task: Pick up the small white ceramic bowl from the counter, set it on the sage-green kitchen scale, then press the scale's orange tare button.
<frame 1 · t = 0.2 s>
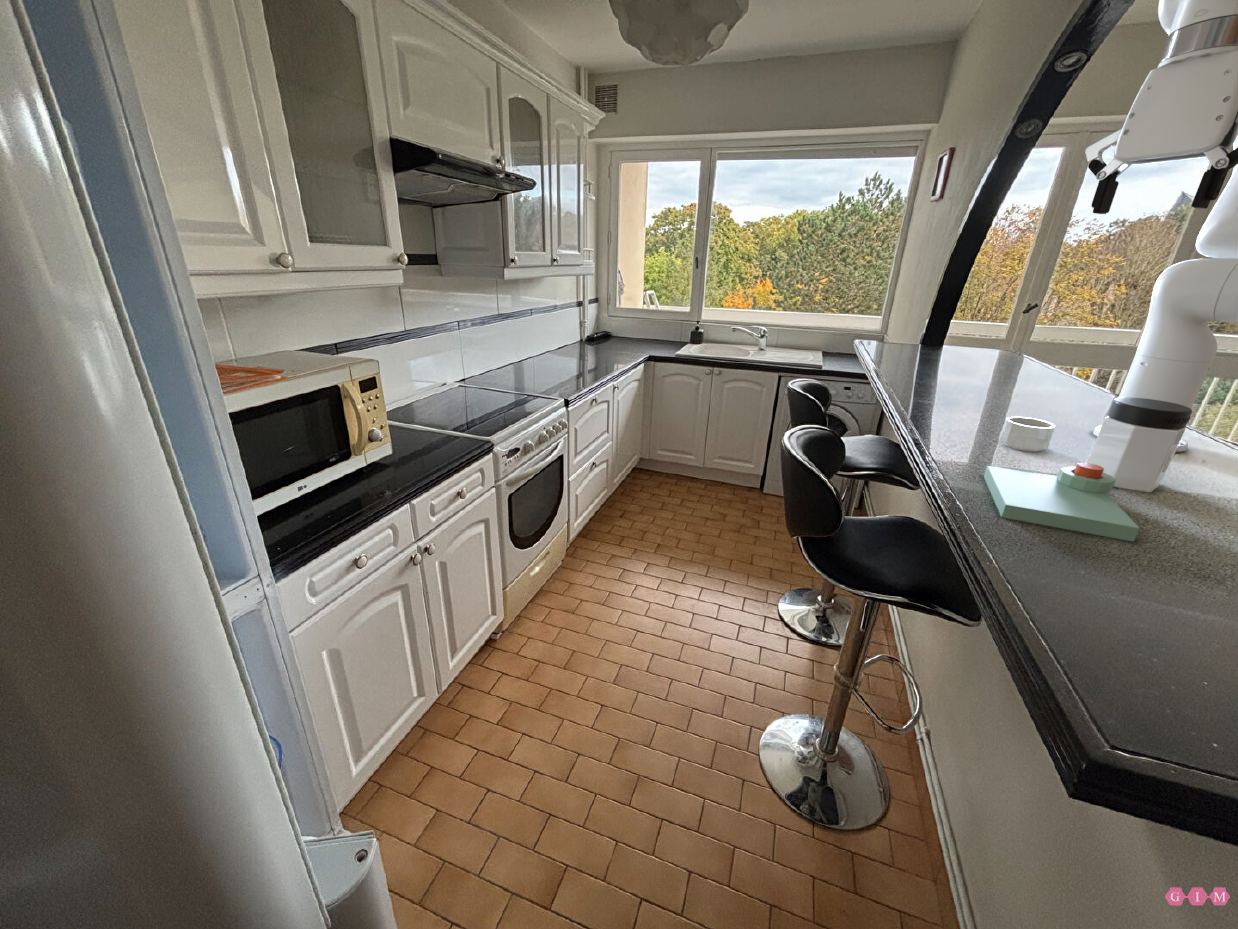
hand: (1146, 210, 66), 37 cm above the countertop, tool pointing down, fingers open, 9 cm apart
tare button: (1088, 471, 70), point 4 cm above the countertop, slide at 0.1 cm
jar: (1119, 481, 77), on the countertop
scale: (1048, 505, 68), on the countertop
bowl: (1022, 446, 91), on the countertop
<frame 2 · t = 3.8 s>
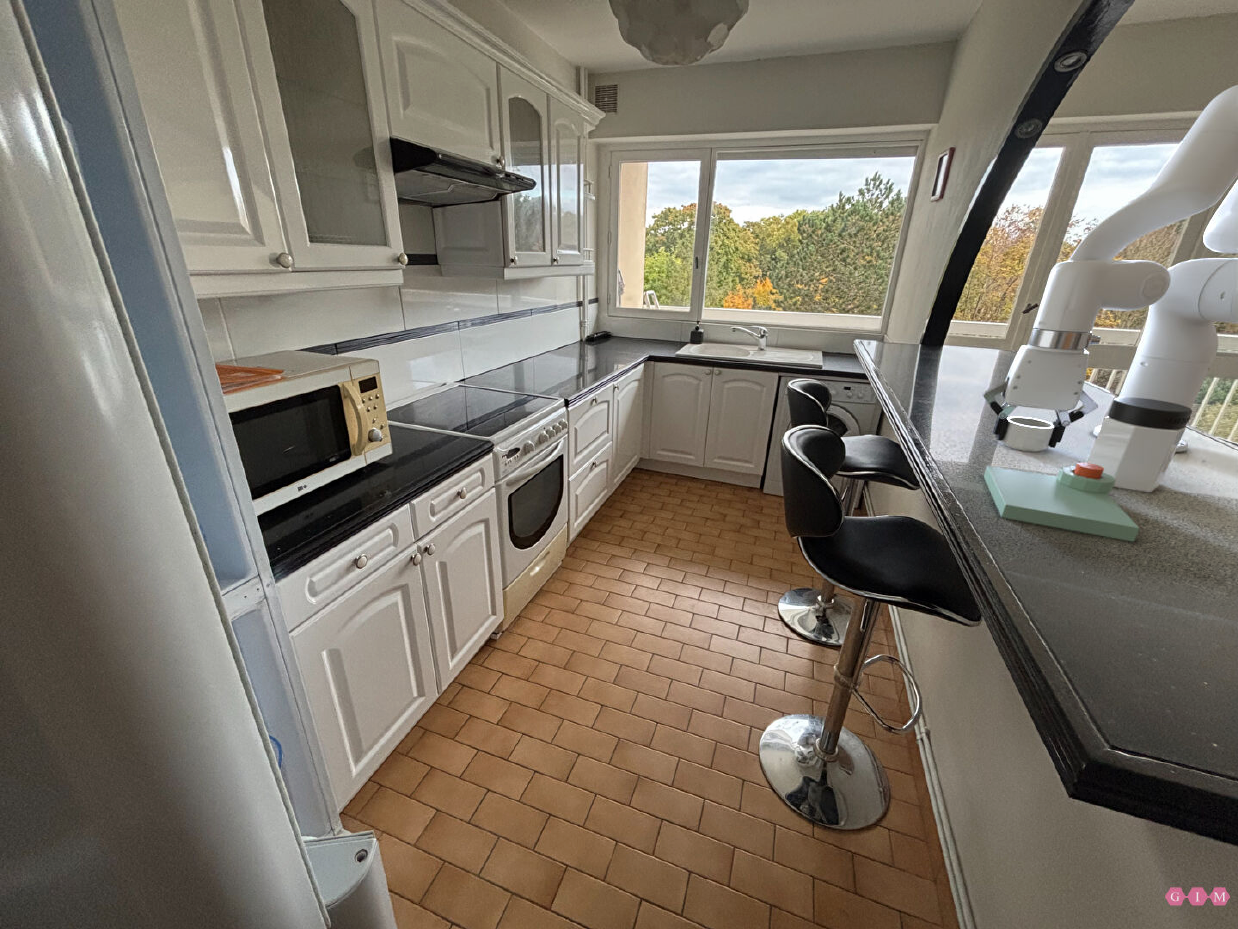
hand: (1024, 441, 91), 1 cm above the countertop, tool pointing down, fingers closed on bowl, 6 cm apart
bowl: (1022, 446, 91), on the countertop, touching gripper
everything else where it was.
when the fingers open (3 cm above the countertop, at t = 11.6 s): bowl stays where it is, resting on scale.
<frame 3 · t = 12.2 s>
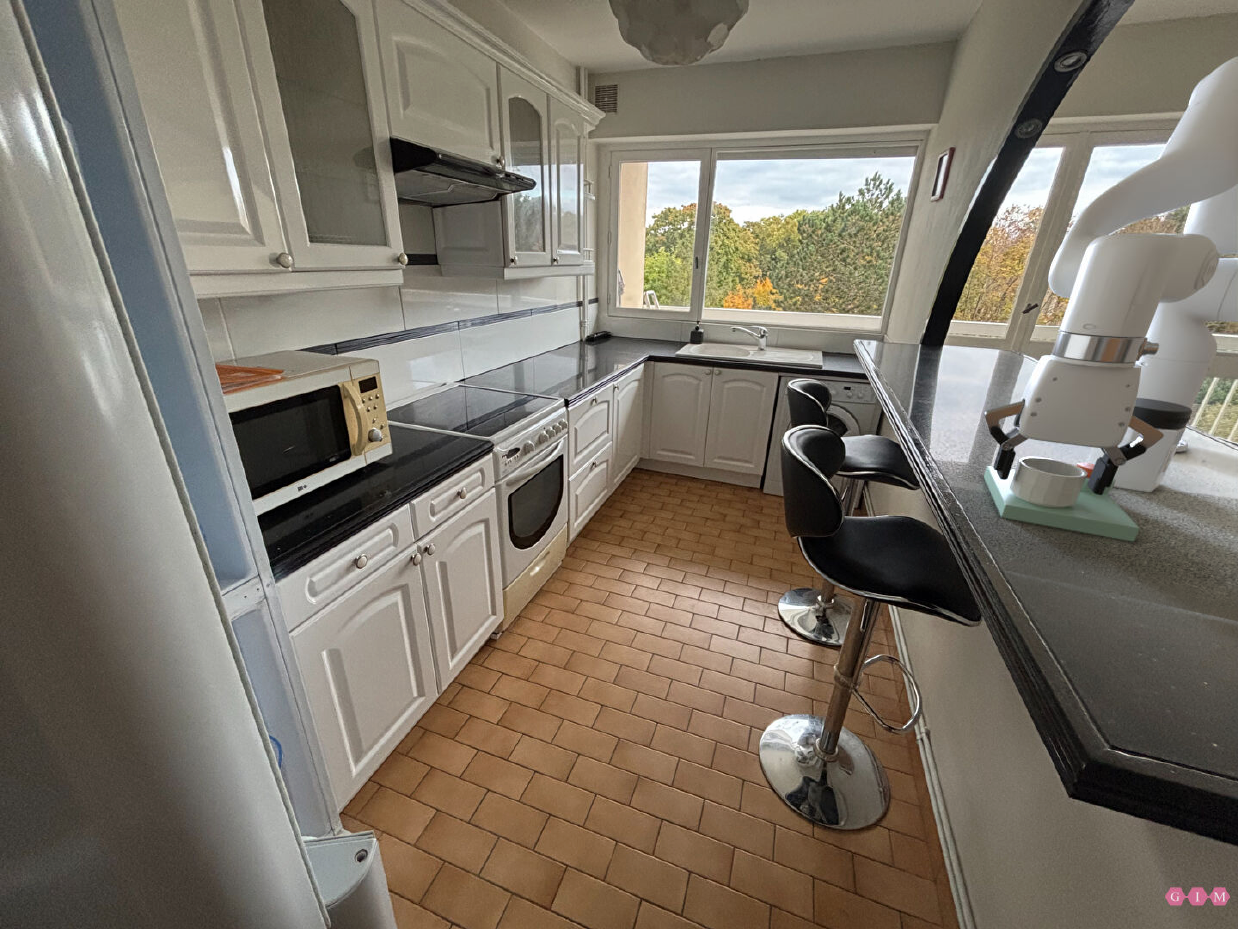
hand: (1046, 483, 65), 4 cm above the countertop, tool pointing down, fingers open, 9 cm apart
bowl: (1040, 498, 66), point 2 cm above the countertop, touching scale
everything else where it was.
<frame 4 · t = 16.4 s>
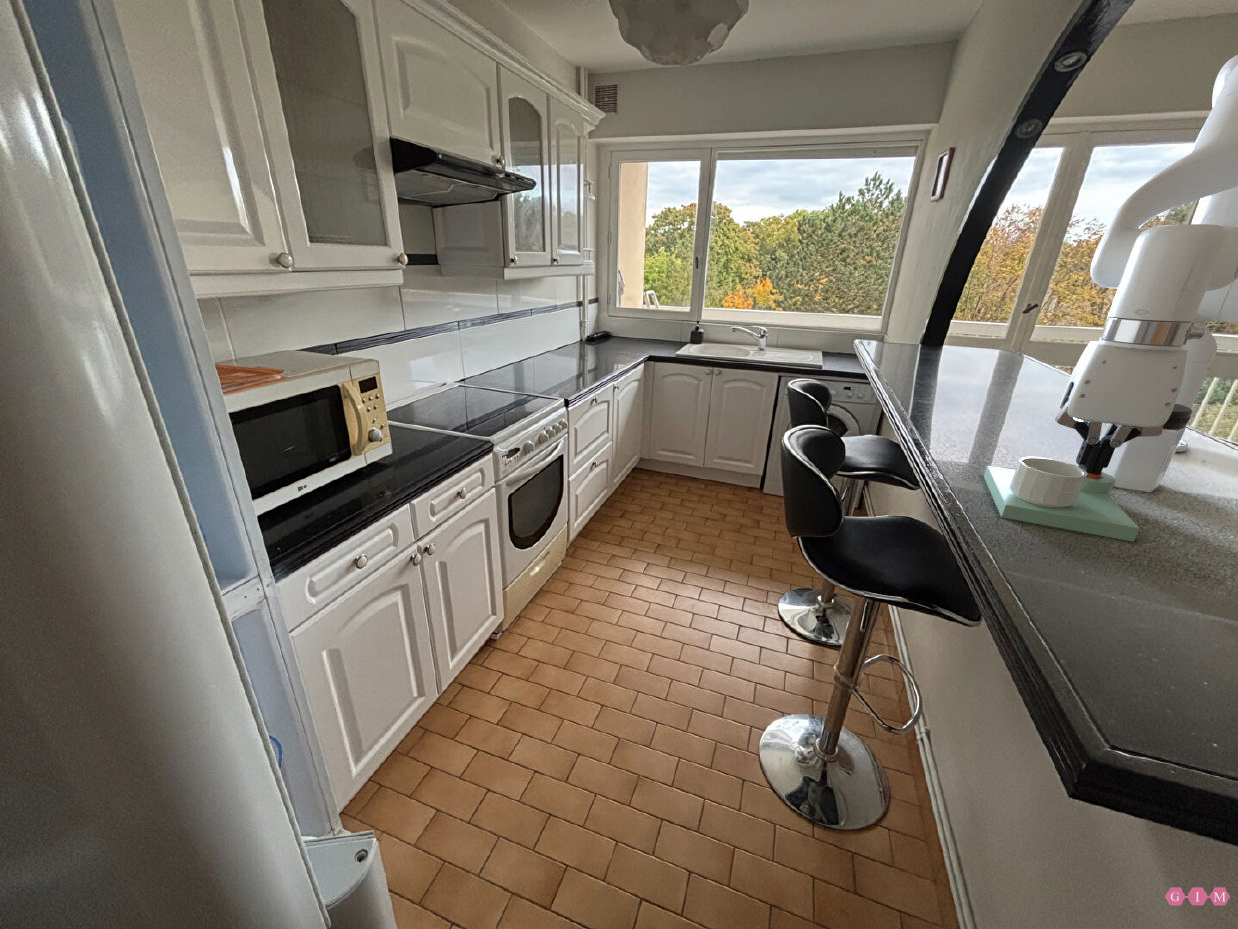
hand: (1088, 470, 70), 4 cm above the countertop, tool pointing down, fingers closed
tare button: (1086, 475, 70), point 3 cm above the countertop, slide at -0.5 cm, touching gripper
everything else where it was.
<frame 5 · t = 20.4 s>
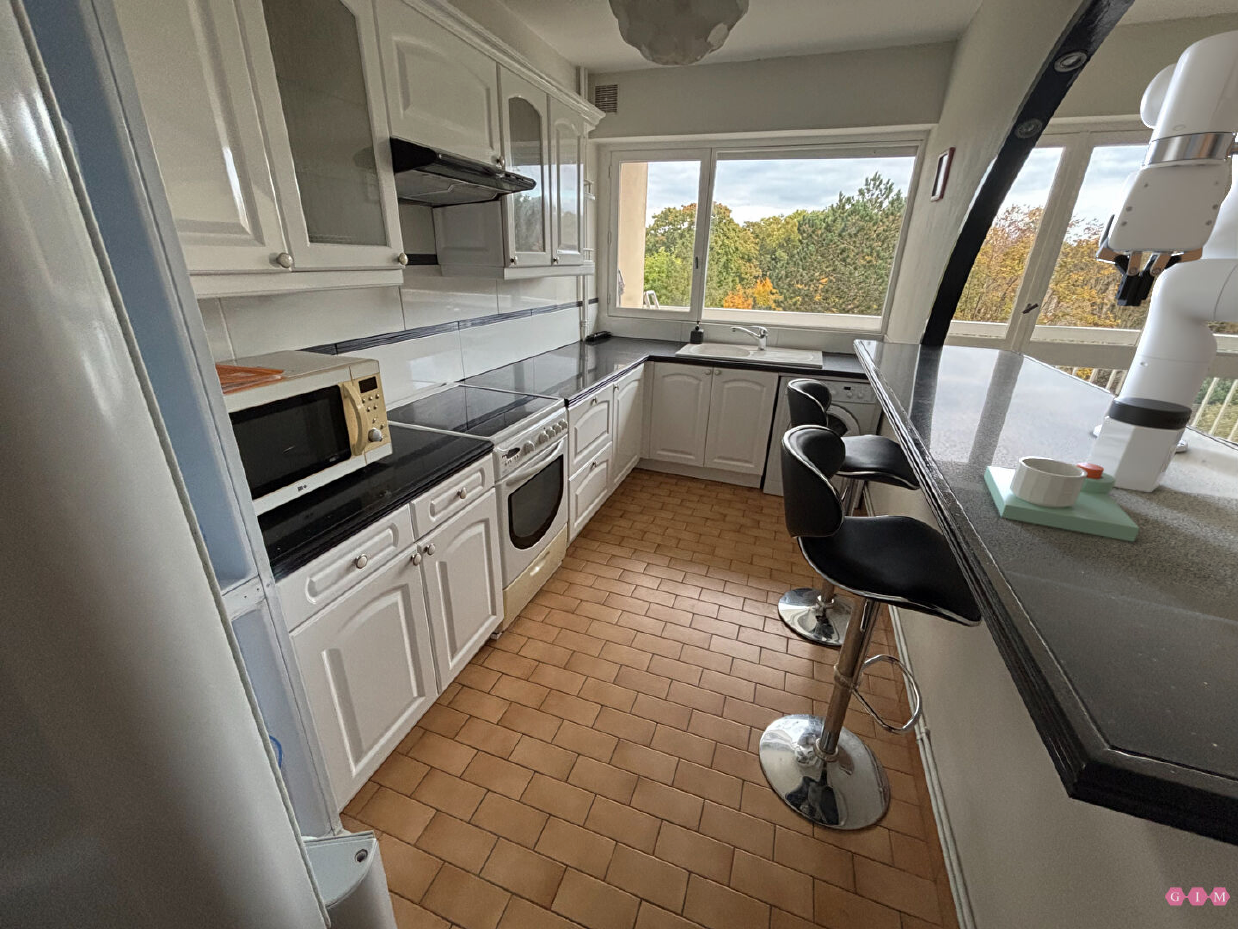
hand: (1127, 305, 72), 25 cm above the countertop, tool pointing down, fingers closed
tare button: (1088, 471, 70), point 4 cm above the countertop, slide at 0.1 cm
everything else where it was.
at the end: bowl inside the target area on the scale (3.6 cm from its centre), point 1.9 cm above the scale's base; bowl touching scale; tare button pushed in 0.9 cm at the most during the clip, back to where it started at the end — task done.
